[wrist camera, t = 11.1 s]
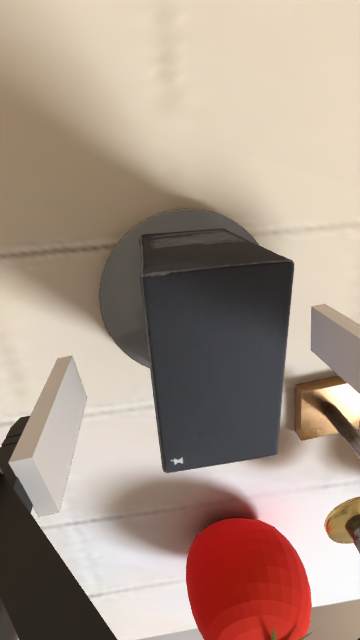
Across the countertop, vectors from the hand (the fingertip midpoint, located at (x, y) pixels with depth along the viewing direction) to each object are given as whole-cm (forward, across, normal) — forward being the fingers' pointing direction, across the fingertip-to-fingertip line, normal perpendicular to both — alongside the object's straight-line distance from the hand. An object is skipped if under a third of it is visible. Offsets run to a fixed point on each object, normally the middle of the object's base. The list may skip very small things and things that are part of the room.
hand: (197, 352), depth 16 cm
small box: (+7, +1, 0) cm, 7 cm away
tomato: (+9, +2, -31) cm, 32 cm away
